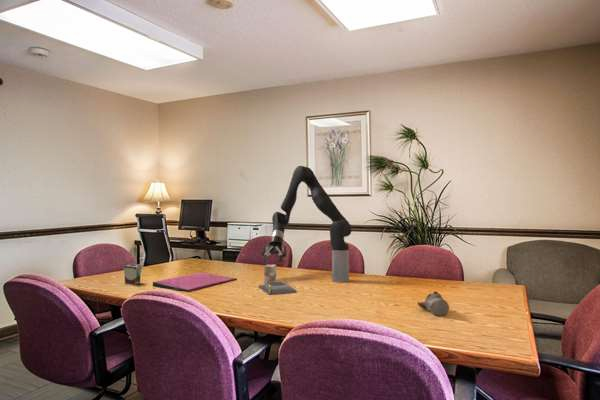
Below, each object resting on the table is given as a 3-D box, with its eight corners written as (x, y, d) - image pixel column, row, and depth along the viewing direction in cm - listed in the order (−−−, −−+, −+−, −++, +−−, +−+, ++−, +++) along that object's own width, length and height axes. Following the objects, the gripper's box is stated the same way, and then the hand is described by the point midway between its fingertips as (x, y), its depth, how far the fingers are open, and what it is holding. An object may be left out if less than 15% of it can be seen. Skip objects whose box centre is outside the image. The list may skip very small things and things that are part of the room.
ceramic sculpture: (427, 294, 151) (415, 288, 166) (428, 317, 150) (416, 309, 165) (455, 294, 151) (441, 288, 166) (456, 317, 150) (441, 309, 165)
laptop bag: (202, 269, 241) (237, 274, 227) (202, 276, 241) (236, 282, 227) (145, 280, 207) (182, 287, 193) (145, 288, 207) (182, 295, 193)
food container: (147, 283, 217) (147, 265, 218) (137, 285, 212) (137, 266, 212) (133, 281, 224) (133, 263, 224) (123, 283, 219) (123, 264, 219)
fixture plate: (284, 285, 211) (284, 277, 211) (296, 292, 194) (296, 284, 194) (258, 287, 206) (258, 279, 206) (268, 294, 190) (268, 286, 190)
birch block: (276, 280, 224) (276, 264, 224) (273, 283, 217) (273, 266, 217) (267, 280, 224) (267, 264, 224) (264, 283, 217) (264, 266, 217)
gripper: (263, 235, 236) (258, 257, 224) (287, 235, 233) (283, 257, 222) (266, 243, 241) (261, 265, 229) (289, 243, 239) (285, 266, 227)
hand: (272, 261), depth 226 cm, fingers open, 8 cm apart
